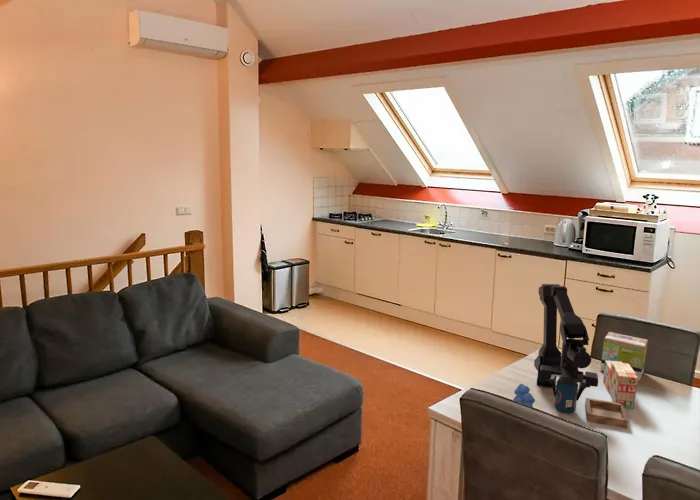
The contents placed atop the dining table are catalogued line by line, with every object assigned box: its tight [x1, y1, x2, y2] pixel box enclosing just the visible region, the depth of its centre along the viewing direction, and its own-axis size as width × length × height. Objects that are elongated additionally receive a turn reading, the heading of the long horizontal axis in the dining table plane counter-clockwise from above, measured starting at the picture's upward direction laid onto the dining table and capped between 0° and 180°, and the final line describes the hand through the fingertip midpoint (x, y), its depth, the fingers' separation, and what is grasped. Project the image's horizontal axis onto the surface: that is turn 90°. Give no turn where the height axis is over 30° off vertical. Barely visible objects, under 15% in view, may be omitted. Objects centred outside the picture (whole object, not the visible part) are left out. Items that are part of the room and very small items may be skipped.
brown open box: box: [584, 397, 629, 429], centre depth 187 cm, size 12×12×3 cm
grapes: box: [513, 383, 536, 408], centre depth 185 cm, size 12×7×12 cm, turn 5°
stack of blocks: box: [602, 360, 639, 410], centre depth 202 cm, size 21×6×12 cm, turn 167°
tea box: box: [600, 331, 649, 381], centre depth 222 cm, size 15×10×15 cm
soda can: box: [554, 377, 579, 415], centre depth 190 cm, size 7×7×12 cm
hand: (566, 398), depth 190 cm, fingers closed on soda can, 7 cm apart
